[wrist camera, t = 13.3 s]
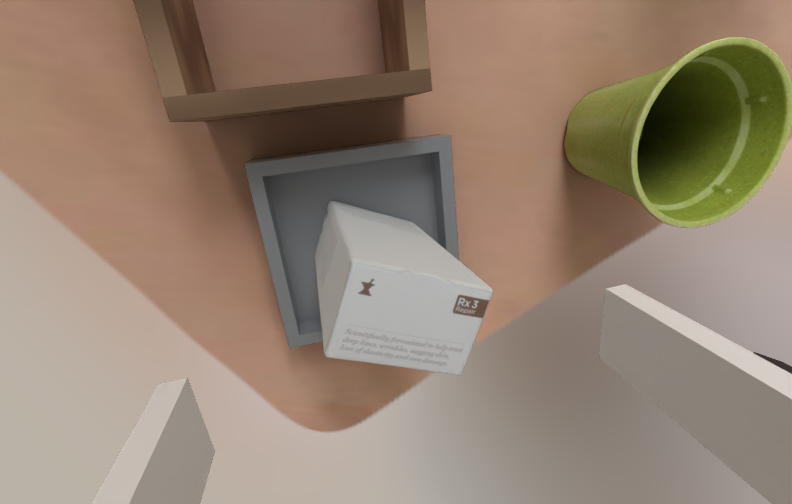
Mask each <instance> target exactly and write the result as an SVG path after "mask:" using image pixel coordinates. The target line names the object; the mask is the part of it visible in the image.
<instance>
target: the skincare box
mask: <svg viewBox="0 0 792 504" xmlns="http://www.w3.org/2000/svg"><path fill="white" fill-rule="evenodd" d="M315 263H316V275H317V285H318V295H319V306H320V316H321V326H322V334H323V347H324V354H325V356H326V357H327V358H334V359H341V360H350V361H358V362H365V363H373V364H380V365H388V366H396V367H403V368H410V369H418V370H425V371H432V372H439V373H447V374H454V375H461V374H462V371H463V369H464V366H465V363H466V361H467V358H468V356H469V353H470V351H471V348H472V346H473V343H474V340H475V338H476V335H477V332H478V330H479V327H480V325H481V322H482V319H483V316H484V314H485V311H486V309H487V306H488V304H489V301H490V298H491V296H492V294H493V290H492V288H491V287H489V286H488V285H487V284H486V283H485V282H484V281H482V280H481V279H480V278H479V277H478V276H477V275H475V274H474V273H473V272H472V271H471V270H469V269H468V268H467V267H466V266H465V265H463V264H462V263H461V262H460V261H459V260H457V259H456V258H455V257H454V256H453V255H451V254H450V253H449V252H448V251H447V250H445V249H444V248H443V247H442V246H441V245H439V244H438V243H437V242H436V241H435V240H434V239H432V238H431V237H430V236H429V235H427V234H426V233H425V232H424V231H423V230H422V229H420V228H419V227H418V226H417V225H416V224H415V223H413V222H411V221H407V220H403V219H399V218H396V217H392V216H388V215H385V214H381V213H377V212H373V211H370V210H366V209H362V208H359V207H355V206H351V205H347V204H344V203H340V202H336V201H329V203H328V207H327V211H326V214H325V218H324V222H323V225H322V229H321V233H320V237H319V241H318V244H317V248H316V252H315Z"/></svg>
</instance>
